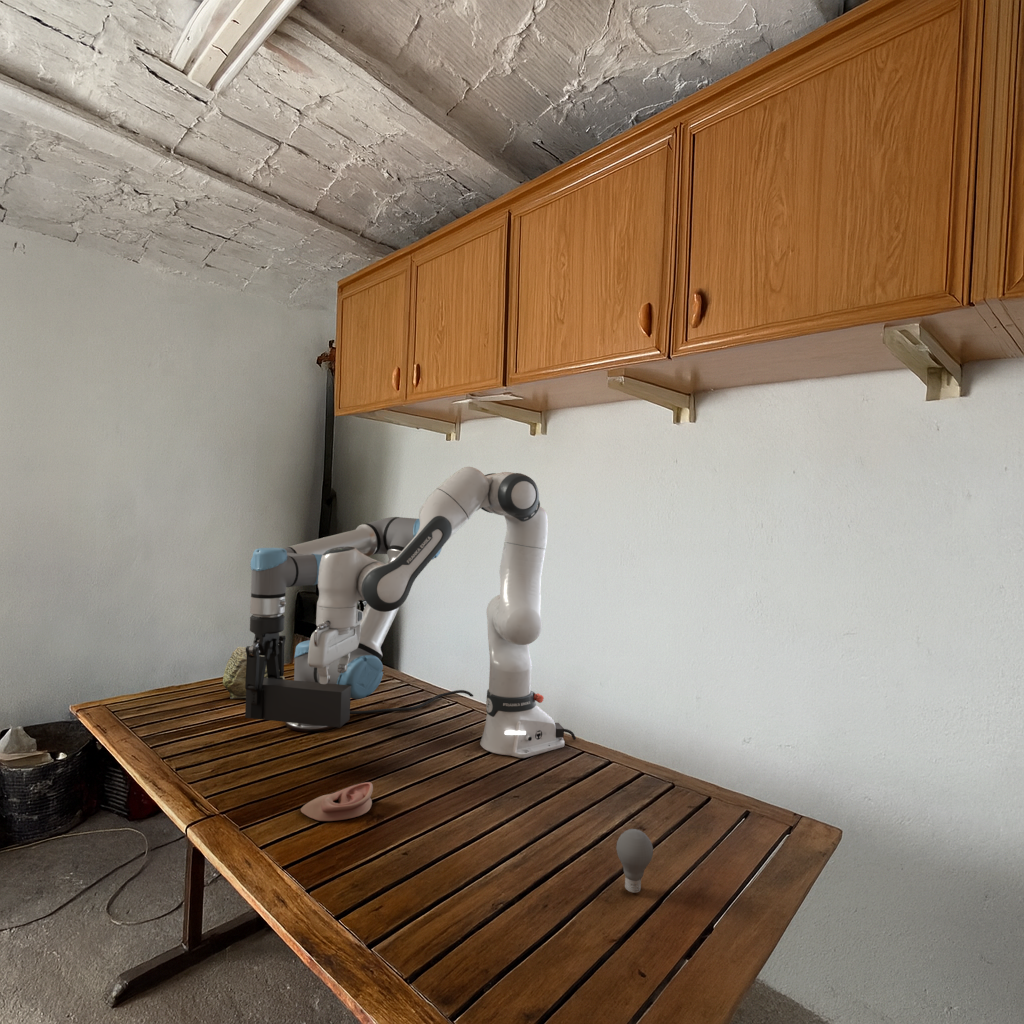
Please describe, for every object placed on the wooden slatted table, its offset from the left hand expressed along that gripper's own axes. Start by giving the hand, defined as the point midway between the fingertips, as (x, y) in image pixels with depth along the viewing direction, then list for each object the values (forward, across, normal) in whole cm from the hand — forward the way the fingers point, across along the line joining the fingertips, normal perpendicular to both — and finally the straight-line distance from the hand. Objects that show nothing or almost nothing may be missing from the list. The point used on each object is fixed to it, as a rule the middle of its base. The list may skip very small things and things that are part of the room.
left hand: (264, 713), depth 148 cm
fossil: (+12, +46, +29) cm, 56 cm away
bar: (0, 0, -8) cm, 8 cm away
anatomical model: (+12, -16, -26) cm, 32 cm away
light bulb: (+12, -30, -84) cm, 90 cm away
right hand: (-10, 0, -17) cm, 19 cm away
